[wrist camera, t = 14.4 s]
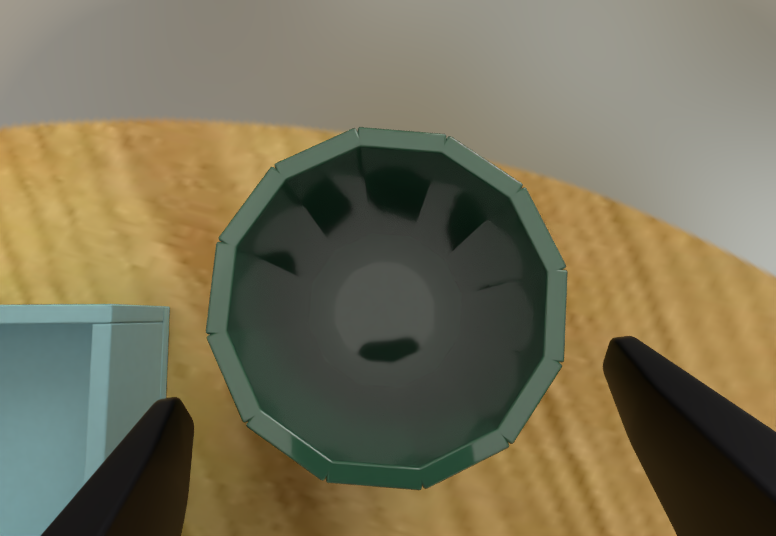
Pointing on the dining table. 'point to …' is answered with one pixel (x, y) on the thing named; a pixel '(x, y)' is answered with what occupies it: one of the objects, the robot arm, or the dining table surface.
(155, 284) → the dining table surface
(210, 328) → the cup
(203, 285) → the dining table surface
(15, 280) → the dining table surface
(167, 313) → the bin
